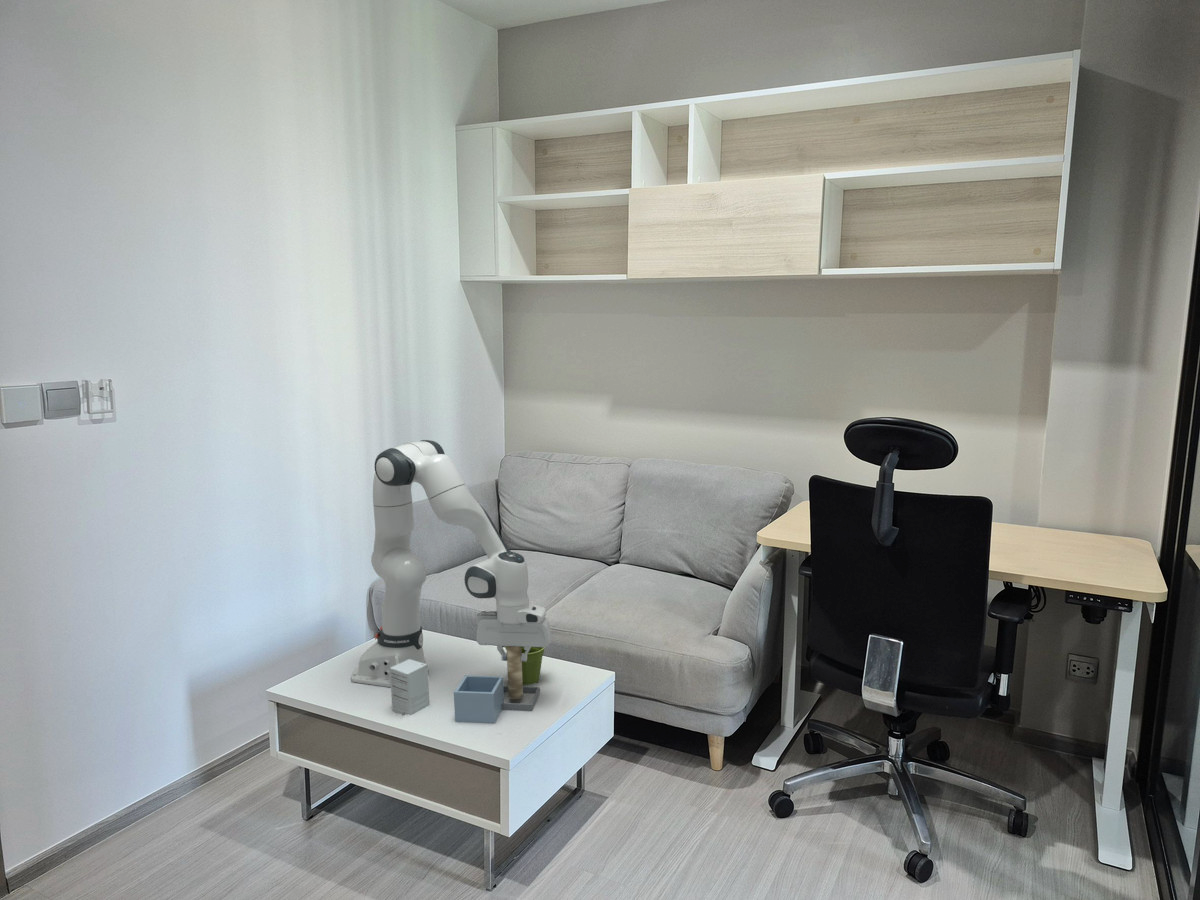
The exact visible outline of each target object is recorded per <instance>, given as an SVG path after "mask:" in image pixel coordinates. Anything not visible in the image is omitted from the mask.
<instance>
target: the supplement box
mask: <svg viewBox="0 0 1200 900" xmlns="http://www.w3.org/2000/svg"><path fill="white" fill-rule="evenodd" d="M427 668H428V664H427V663H426V664H424V663H421V662H417V661H414V660H411V659H408V660H406V661H404V662H402V663H400V664H397V665H395V666H393V667H391V668H390V681H391V687H390V693H391V694H390V695H391V696H390V697H391V707H392V709H391V710H392V712H394V713H396V714H400V715H402V716H406V715H409V716H412V715H413V714H416V713H418V712H420V711H421V710H423V709H426V708H427V707H429V706H430V693H429V692H430V690H429V689H430V688H429V675H428V674H429V669H428V670H427Z"/></svg>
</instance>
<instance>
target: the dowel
mask: <svg viewBox="0 0 1200 900" xmlns="http://www.w3.org/2000/svg"><path fill="white" fill-rule="evenodd" d="M506 653H507V661H506V665H507V667H506V669H507V686H508V693H507V694H508V695H507V696H508V697H507V698H509V699H511V700H519V699H521V698H523V696H524V693H523V681H522V661H521V655H522V650H521V646H507V650H506Z"/></svg>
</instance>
